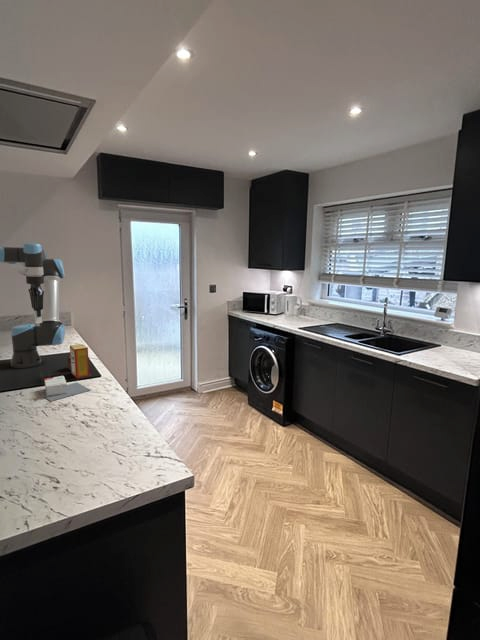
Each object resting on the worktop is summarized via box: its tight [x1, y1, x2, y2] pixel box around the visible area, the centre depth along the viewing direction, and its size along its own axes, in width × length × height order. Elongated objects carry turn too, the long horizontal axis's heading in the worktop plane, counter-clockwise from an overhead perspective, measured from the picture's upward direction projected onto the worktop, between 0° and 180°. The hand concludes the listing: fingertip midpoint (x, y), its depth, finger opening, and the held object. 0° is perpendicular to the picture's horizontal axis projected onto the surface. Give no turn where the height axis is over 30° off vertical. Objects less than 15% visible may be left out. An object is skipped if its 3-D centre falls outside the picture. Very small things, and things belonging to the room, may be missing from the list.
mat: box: [38, 382, 91, 402], centre depth 166 cm, size 14×18×1 cm
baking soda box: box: [69, 343, 90, 379], centre depth 188 cm, size 10×6×16 cm
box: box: [67, 356, 71, 371], centre depth 198 cm, size 6×6×7 cm
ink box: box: [44, 375, 68, 396], centre depth 165 cm, size 9×5×12 cm
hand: (38, 323), depth 176 cm, fingers closed
